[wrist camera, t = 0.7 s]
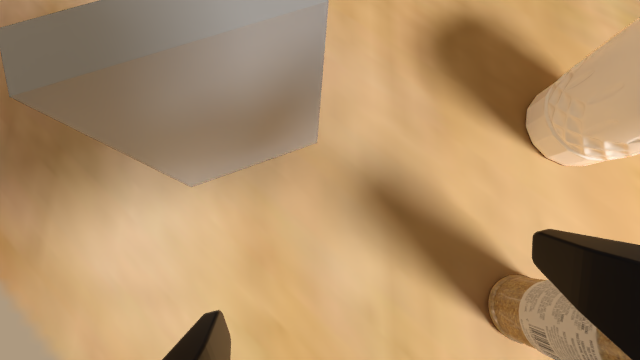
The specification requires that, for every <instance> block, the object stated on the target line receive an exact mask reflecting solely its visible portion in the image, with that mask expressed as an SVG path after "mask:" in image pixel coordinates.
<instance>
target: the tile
mask: <svg viewBox="0 0 640 360" xmlns="http://www.w3.org/2000/svg"><path fill="white" fill-rule="evenodd" d="M327 14H328V0H99V1H96V2H92V3H88V4H85V5H81V6H78V7H74V8H70V9H67V10H63V11H59V12H56V13H52V14H49V15H45V16H41V17H38V18H34V19H30V20H27V21H23V22H19V23H16V24H12V25H9V26H5V27H1V28H0V51H1V56H2V61H3V66H4V72H5V77H6V82H7V87H8V92H9V97H11V98H13V99H15V100H17V101H19V102H21V103H23V104H25V105H27V106H29V107H31V108H33V109H35V110H37V111H39V112H41V113H43V114H45V115H47V116H49V117H51V118H53V119H55V120H57V121H59V122H61V123H63V124H65V125H67V126H69V127H71V128H73V129H75V130H77V131H79V132H81V133H83V134H85V135H87V136H89V137H91V138H93V139H95V140H97V141H99V142H101V143H103V144H105V145H107V146H109V147H111V148H113V149H115V150H117V151H119V152H121V153H124V154H126V155H128V156H130V157H132V158H134V159H136V160H138V161H140V162H142V163H144V164H146V165H148V166H150V167H152V168H154V169H156V170H158V171H160V172H162V173H164V174H166V175H168V176H170V177H172V178H174V179H176V180H178V181H180V182H182V183H184V184H186V185H188V186H190V187H193V186H196V185H199V184H202V183H204V182H207V181H210V180H213V179H216V178H219V177H221V176H224V175H227V174H230V173H233V172H236V171H238V170H241V169H244V168H247V167H250V166H253V165H255V164H258V163H261V162H264V161H267V160H270V159H272V158H275V157H278V156H281V155H284V154H287V153H289V152H292V151H295V150H298V149H301V148H304V147H306V146H309V145H312V144H315V143H317V137H318V125H319V113H320V100H321V88H322V75H323V63H324V51H325V38H326V26H327Z"/></svg>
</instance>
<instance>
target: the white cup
mask: <svg viewBox="0 0 640 360" xmlns="http://www.w3.org/2000/svg"><path fill="white" fill-rule="evenodd" d="M526 129H527V131H528V134H529V136H530V139H531V141H532V144H533V145H534V146H535V147H536V148H537V149H538V150H539V151H540V152H541V153H542V154H543V155H544V156H545V157H546V158H548V159H550V160H552V161H555V162H557V163H559V164H561V165H564V166H586V165H590V164H594V163H598V162H603V161H606V160H613V159H619V158H625V157H630V156H634V155H638V154H640V17H639V18H637V19H636V20H635V21H633V22H632V23H631V24H629V25H628V26H627V27H625V28H624V29H623V30H621V31H620V32H619V33H617V34H616V35H614V36H613V37H612V38H610V39H609V40H608V41H606V42H605V43H604V44H602V45H601V46H600V47H598V48H597V49H596V50H594V51H593V52H592V53H590V54H589V55H588V56H586V57H585V58H584V59H583V60H582V61H581V62H579V63H578V64H576V65H575V66H574V67H572V68H571V69H570V70H568V71H567V72H566V73H565V74H564V75H563V76H561V77H560V78H559V79H558V80H557V81H556V82H555V83H553V84H552V85H550V86H549V87H548V88H546V89H545V90H543V91H542V92H541V93H539V94H538V95H537V96H536V97H535V98H534V100H533V101H532V103H531V104H530V106H529V107H528V109H527V115H526Z"/></svg>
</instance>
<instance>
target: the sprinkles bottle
mask: <svg viewBox="0 0 640 360" xmlns="http://www.w3.org/2000/svg"><path fill="white" fill-rule="evenodd" d="M488 305H489V314H490V316H491V319H492V321H493V323H494V324H495V325H496V327H497V329H498V330H499V331H500V332H501V333H502V334H503V335H504V336H506V337H507V338H509V339H511V340H513V341H516V342H518V343H522V344H526V345H528V346H530V347H533V348H535V349H537V350H538V351H540V352H541V353H543V354H545V355H546V356H549V357H551V358H553V359H555V360H631V359H630V358H629V357H628V356H627V355H626V354H625V353H624V352H623V351H621V350H620V349H619V348H618V347H617V346H616V345H615V344H614V343H613V342H612V341H610V340H609V339H608V338H607V337H606V336H605V335H604V334H603V333H602V332H601V331H599V330H598V329H597V328H596V327H595V326H594V325H593V324H592V323H591V322H590V321H589V320H587V319H586V318H585V317H584V316H583V315H582V314H581V313H580V312H579V311H578V310H577V309H576V308H575V307H574V306H573V305H572V304H571V303H570V302H569V301H568V300H567V299H566V298H565V297H564V295H563V294H562V293H561V292H560V291H559V290H558V289H557V288H556V287H555V286H554V285H553V284H552V283H551V282H550V280H539V279H533V278H530V277H527V276H523V275H508V276H506V277H504V278H502V279H500V280H499V281H498V282H497V283H496V284H495V285H494V286H493V288H492V289H491V292H490V295H489V302H488Z"/></svg>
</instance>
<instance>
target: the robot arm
mask: <svg viewBox="0 0 640 360" xmlns="http://www.w3.org/2000/svg"><path fill="white" fill-rule="evenodd" d="M532 259H533V262H534V264H535V265H536V266H537V268H538V269H539V270H540V271H541V272H542V273H543V274H544V275H545V276H546V277H547V278H548V279H549V280H550V282H551V283H552V284H553V285H554V286H555V287H556V288H557V289H558V290H559V291H560V292H561V293H562V294H563V295H564V297H565V298H566V299H567V300H568V301H569V302H570V303H571V304H572V305H573V306H574V307H575V308H576V309H577V310H578V311H579V312H580V313H581V314H582V315H583V316H584V317H585V318H586V319H587V320H589V321H590V322H591V323H592V324H593V325H594V326H595V327H596V328H597V329H598V330H599V331H601V332H602V333H603V334H604V335H605V336H606V337H607V338H608V339H609V340H610V341H612V342H613V343H614V344H615V345H616V346H617V347H618V348H619V349H620V350H621V351H623V352H624V353H625V354H626V355H627V356H628V357H629V358H630V359H631V360H640V245H636V244H631V243H625V242H620V241H614V240H609V239H603V238H597V237H592V236H586V235H581V234H575V233H570V232H564V231H559V230H553V229H546V230H542V231H538V232H536V233H534V235H533V243H532ZM230 353H231V338H230V333H229V330H228V328H227V325H226V322H225V319H224V316H223V313H222V312H221V311H219V310H217V311H213V312H209V313H205V314H204V315H203V316H202V317H201V318H200V319H199V320H198V321H197V322H196V323H195V325H194V326H193V327H192V328H191V329H190V330H189V331H188V332H187V333H186V334H185V335H184V337H183V338H182V339H181V340H180V341H179V342H178V343H177V344H176V345H175V346H174V347H173V349H172V350H171V351H170V352H169V353H168V354H167V355H166V356H165V357H164V358H163V359H162V360H230Z"/></svg>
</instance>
